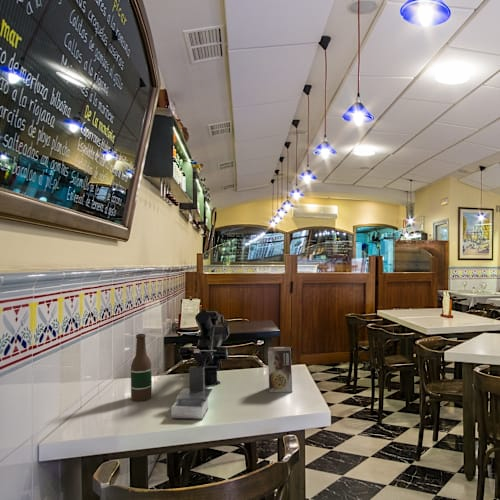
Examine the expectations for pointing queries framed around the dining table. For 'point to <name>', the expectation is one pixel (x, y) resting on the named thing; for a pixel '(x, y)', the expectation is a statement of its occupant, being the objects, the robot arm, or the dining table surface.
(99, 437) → the dining table surface
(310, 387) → the dining table surface
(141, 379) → the beer bottle
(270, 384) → the grey printed box
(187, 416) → the white flat block
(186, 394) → the lid
